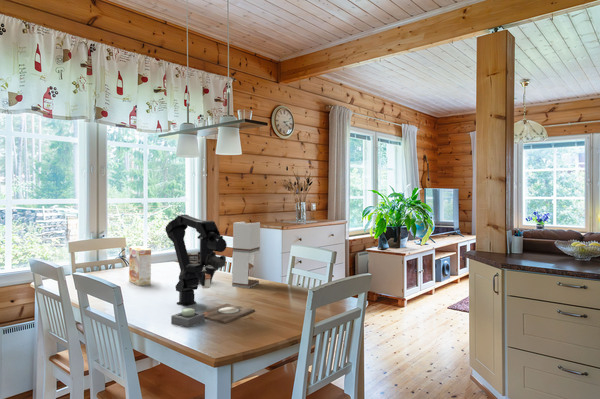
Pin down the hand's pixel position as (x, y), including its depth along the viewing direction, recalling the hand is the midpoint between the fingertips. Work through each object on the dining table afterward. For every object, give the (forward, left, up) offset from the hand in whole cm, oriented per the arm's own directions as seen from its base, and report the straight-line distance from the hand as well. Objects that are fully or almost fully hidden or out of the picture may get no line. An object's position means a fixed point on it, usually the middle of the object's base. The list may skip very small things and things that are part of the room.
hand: (206, 285), depth 178 cm
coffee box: (-44, +38, -11) cm, 59 cm away
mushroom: (0, 0, -1) cm, 1 cm away
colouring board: (+11, +1, -11) cm, 15 cm away
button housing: (+6, -16, -11) cm, 20 cm away
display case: (-14, +48, -11) cm, 51 cm away
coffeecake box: (-66, +19, -11) cm, 70 cm away
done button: (+6, -16, -8) cm, 19 cm away
